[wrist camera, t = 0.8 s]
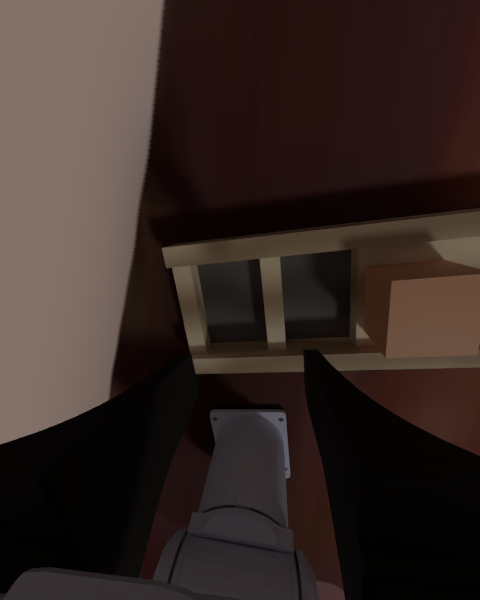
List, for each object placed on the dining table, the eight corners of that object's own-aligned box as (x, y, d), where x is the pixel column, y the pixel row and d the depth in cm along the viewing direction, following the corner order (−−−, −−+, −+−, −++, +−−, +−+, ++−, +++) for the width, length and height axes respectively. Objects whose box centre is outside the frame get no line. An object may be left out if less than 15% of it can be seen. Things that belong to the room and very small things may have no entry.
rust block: (434, 326, 18) (476, 355, 14) (363, 329, 19) (385, 358, 15) (444, 259, 16) (495, 272, 13) (365, 266, 17) (391, 281, 13)
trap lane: (560, 342, 19) (610, 363, 16) (199, 355, 24) (189, 374, 21) (611, 192, 16) (686, 187, 13) (177, 243, 20) (161, 248, 18)
